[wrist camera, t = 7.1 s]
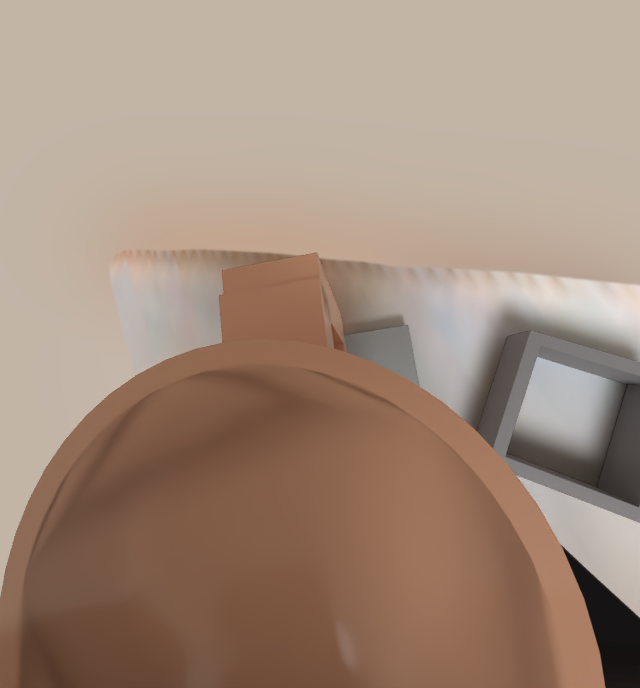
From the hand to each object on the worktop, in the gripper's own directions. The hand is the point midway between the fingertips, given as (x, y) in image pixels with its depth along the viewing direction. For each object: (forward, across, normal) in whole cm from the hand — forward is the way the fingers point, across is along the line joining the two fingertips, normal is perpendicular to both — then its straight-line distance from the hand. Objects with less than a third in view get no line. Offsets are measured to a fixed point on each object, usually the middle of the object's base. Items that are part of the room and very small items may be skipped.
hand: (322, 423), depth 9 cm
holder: (+7, -14, +12) cm, 20 cm away
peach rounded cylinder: (+4, 0, +6) cm, 7 cm away
